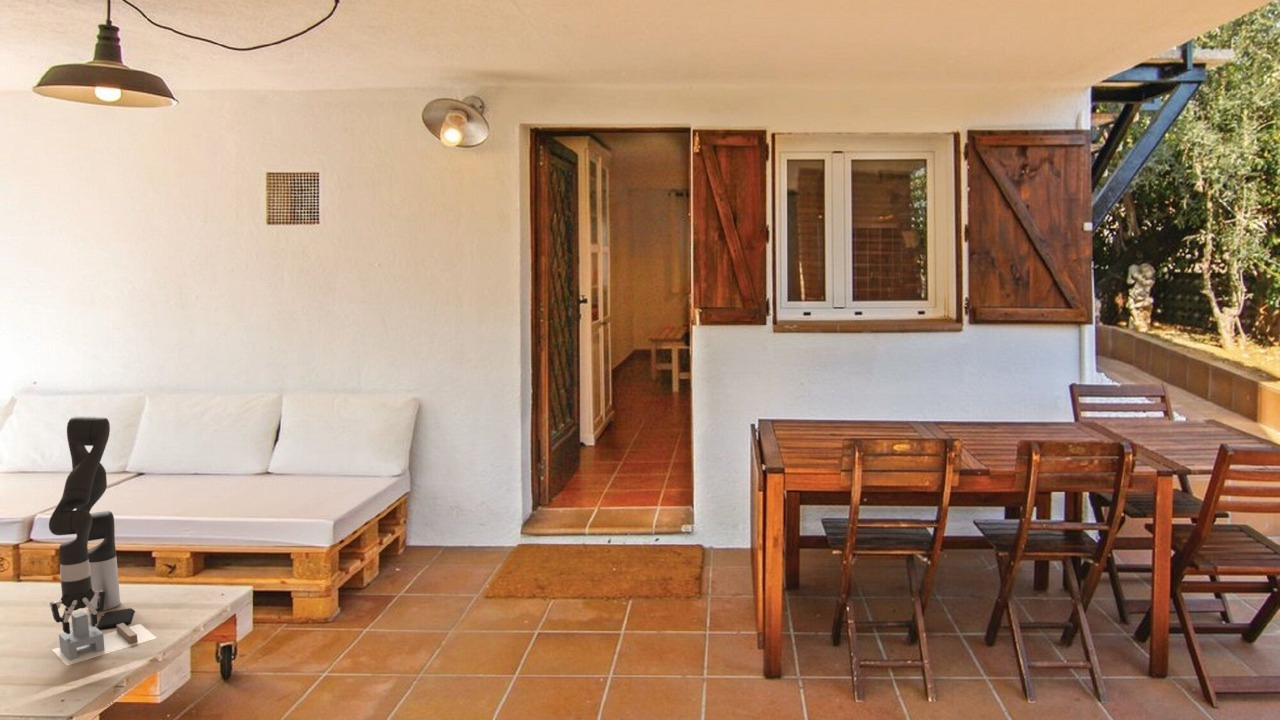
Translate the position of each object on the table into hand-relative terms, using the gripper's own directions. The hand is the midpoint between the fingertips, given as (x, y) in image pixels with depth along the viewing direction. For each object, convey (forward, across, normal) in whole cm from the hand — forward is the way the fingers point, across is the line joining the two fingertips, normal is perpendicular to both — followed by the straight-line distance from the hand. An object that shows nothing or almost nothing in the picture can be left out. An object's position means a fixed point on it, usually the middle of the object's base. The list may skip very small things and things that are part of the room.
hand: (80, 629), depth 252 cm
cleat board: (+8, -6, 0) cm, 10 cm away
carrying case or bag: (+9, -14, -18) cm, 24 cm away
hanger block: (+7, 0, 0) cm, 7 cm away
